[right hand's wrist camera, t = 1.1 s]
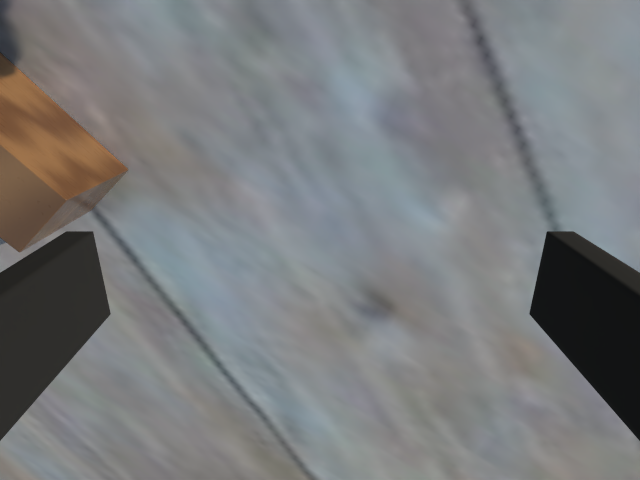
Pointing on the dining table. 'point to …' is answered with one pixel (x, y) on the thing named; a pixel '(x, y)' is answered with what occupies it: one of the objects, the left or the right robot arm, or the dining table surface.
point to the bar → (45, 163)
